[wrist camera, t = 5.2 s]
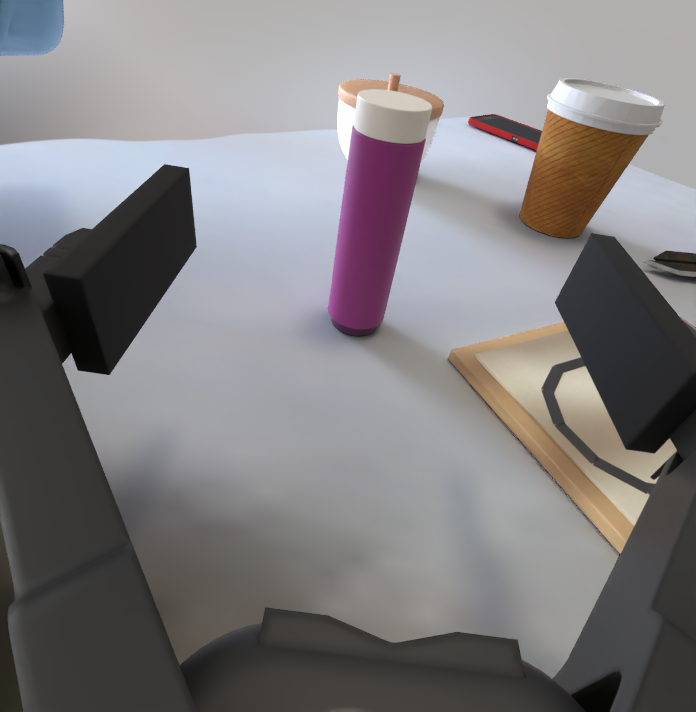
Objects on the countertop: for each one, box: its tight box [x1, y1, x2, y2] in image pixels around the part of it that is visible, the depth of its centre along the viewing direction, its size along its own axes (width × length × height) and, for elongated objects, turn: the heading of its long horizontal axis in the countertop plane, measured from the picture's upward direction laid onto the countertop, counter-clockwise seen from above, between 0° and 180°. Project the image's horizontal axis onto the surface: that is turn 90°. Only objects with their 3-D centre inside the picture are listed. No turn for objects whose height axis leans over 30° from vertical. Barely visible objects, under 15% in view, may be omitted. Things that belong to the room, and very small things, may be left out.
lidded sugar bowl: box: [337, 73, 444, 161], centre depth 47 cm, size 11×11×9 cm
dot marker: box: [328, 89, 432, 336], centre depth 25 cm, size 4×4×13 cm
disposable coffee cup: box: [519, 78, 665, 238], centre depth 42 cm, size 10×10×12 cm
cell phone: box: [468, 114, 542, 151], centre depth 69 cm, size 8×15×1 cm, turn 43°
